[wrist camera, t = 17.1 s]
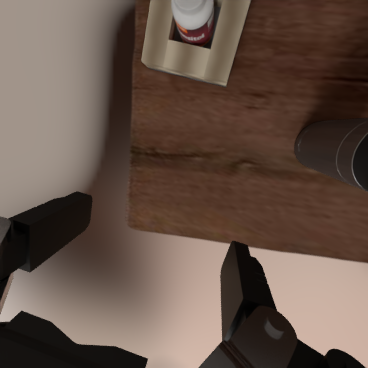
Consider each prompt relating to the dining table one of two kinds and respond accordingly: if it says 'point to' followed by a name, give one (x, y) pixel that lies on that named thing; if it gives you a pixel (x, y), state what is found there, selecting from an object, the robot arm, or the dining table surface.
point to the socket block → (189, 54)
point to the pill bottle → (194, 20)
